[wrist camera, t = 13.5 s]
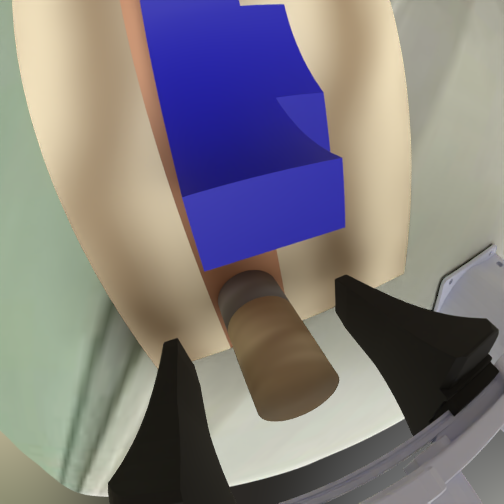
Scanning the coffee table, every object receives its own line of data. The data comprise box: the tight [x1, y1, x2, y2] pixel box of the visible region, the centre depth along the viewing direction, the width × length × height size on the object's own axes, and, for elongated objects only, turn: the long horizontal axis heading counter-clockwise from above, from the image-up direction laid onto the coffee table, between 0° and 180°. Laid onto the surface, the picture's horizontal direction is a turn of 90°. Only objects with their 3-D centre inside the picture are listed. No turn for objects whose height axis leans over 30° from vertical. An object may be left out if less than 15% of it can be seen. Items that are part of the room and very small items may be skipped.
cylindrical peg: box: [218, 270, 339, 421], centre depth 11 cm, size 3×3×6 cm
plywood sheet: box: [12, 0, 411, 368], centre depth 10 cm, size 16×21×1 cm
